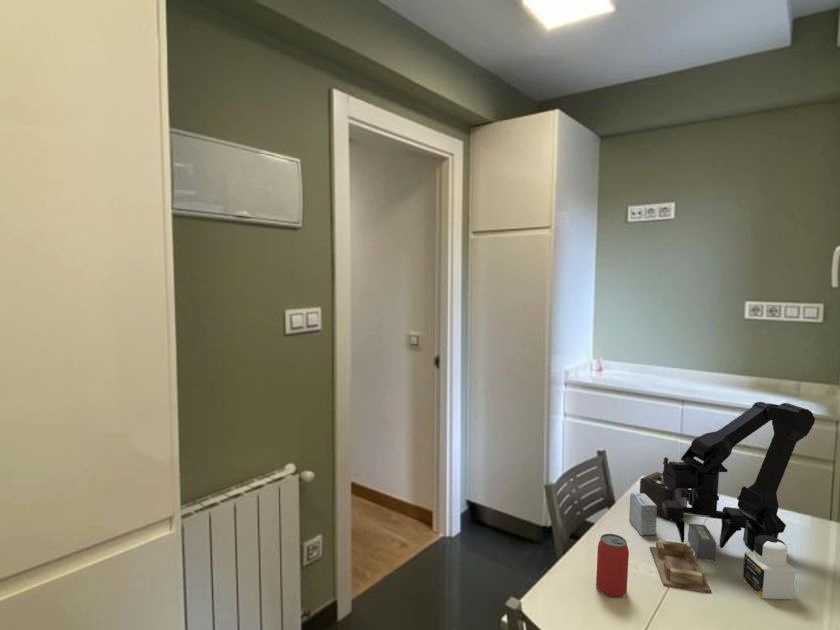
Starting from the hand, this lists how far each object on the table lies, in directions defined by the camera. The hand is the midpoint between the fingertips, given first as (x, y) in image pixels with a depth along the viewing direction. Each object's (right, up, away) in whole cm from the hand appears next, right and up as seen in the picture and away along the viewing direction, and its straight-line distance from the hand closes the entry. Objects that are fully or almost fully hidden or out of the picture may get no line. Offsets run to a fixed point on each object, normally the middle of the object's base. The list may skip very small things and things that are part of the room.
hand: (701, 544), depth 130 cm
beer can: (-30, -3, -17) cm, 35 cm away
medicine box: (-11, -1, +11) cm, 15 cm away
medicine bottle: (+6, -3, -16) cm, 17 cm away
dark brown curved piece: (+2, 0, +20) cm, 20 cm away
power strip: (0, -2, 0) cm, 2 cm away
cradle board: (-11, -2, -9) cm, 14 cm away
